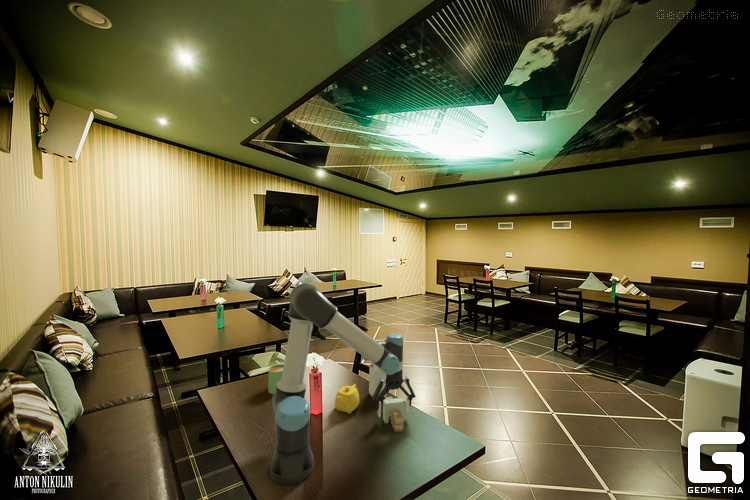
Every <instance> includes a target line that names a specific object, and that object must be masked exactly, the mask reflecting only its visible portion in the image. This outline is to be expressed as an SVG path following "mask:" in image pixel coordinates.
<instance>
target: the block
mask: <svg viewBox="0 0 750 500" xmlns="http://www.w3.org/2000/svg"><path fill="white" fill-rule="evenodd" d="M382 400H383V403H382V420H383V422H384V424H389V422H390V420H389V416H392V411H395V410H399V411H400V413H401V414H402V416H403V422H404V421H405V400H404V399H403V397H398V398H393V399H386V400H385V399H382Z"/></svg>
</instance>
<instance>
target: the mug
mask: <svg viewBox="0 0 750 500" xmlns="http://www.w3.org/2000/svg"><path fill="white" fill-rule="evenodd" d="M283 367H284V363H283V364H282V363H281V364H280V363H279V364H273V365H271V366H269V367H268V382H267V383H268V388H267V390H268V393H269V394H271V395H273V394H274V392H275V390H276V386H277V383H278V382H279V381H280V380H281V379H282V373H283Z"/></svg>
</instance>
